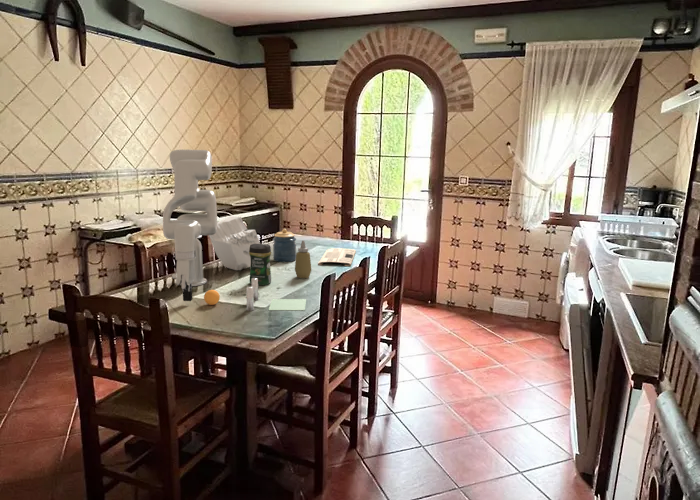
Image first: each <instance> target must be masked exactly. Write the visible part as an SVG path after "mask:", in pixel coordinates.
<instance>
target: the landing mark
mask: <svg viewBox="0 0 700 500" xmlns="http://www.w3.org/2000/svg"><path fill="white" fill-rule="evenodd" d="M306 303H307V299H306V298H280V299H279V298H272V299H271V301H270V304H269V307H268V311H306V306H307V305H306Z"/></svg>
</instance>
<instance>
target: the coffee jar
mask: <svg viewBox="0 0 700 500" xmlns="http://www.w3.org/2000/svg"><path fill="white" fill-rule="evenodd" d="M271 249H272V248H271V245H270V244H267V243H266V244H264V243H260V244H252V245H250V249H249V255H250V258H251V266H250V268H249V269H250V271H249V283H250V284H251V279H252V278H258V286H266V285H270V284H271V283H272V274H271V273H272V271H271V256H272V250H271Z"/></svg>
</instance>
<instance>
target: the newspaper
mask: <svg viewBox="0 0 700 500" xmlns="http://www.w3.org/2000/svg"><path fill="white" fill-rule="evenodd" d="M356 251H357V250H356V249H354V248H353V249H352V248H342V247H341V248H339V247H338V248H337V247H336V248H335V247H333V248H327V249H326V251H325V252H324V254H322V257H321V258H320V260H319V261H318V262H317V265H318V266H323V265H324V263H338V264H339V263H341V264H343V266H344V267H351V266H352V262H354V257H355V255H356V253H357V252H356Z"/></svg>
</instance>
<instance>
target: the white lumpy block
mask: <svg viewBox="0 0 700 500" xmlns="http://www.w3.org/2000/svg"><path fill="white" fill-rule="evenodd" d="M208 237H209V240H210V242H211V244H212V246H213V247H212V248H213V250H214V253H215V255H216V257H217V258H218V259H219V260H220V262H221V264H222V265H223V266H224V268H226V267H227V268H228V269H231V270H234V271H242V270H243V269H247V268H249V267H251V258H250V255H249V249H250V245H252V244H261V242H260V240H259V237H258V234H257V232H256V229H248V228H247V226H246V225H245V223H244V221H243V218H242V217H241V216H237V215H229V216H227V217H225V218H224V219H221V220H220V221H217V232H216V233H215V234H213V235H208ZM227 268H226V269H227Z"/></svg>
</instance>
